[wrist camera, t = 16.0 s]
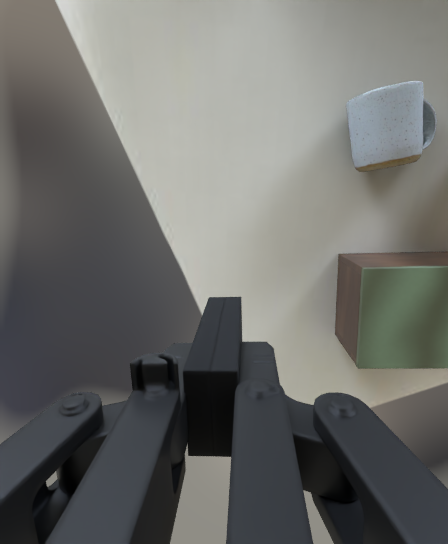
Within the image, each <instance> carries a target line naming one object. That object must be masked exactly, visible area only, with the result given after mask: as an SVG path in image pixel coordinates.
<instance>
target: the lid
mask: <svg viewBox="0 0 448 544" xmlns="http://www.w3.org/2000/svg"><path fill="white" fill-rule="evenodd" d="M356 366H357V368H448V266H403V267H362V269H361V286H360V303H359V320H358V337H357V354H356Z"/></svg>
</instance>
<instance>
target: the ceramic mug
mask: <svg viewBox="0 0 448 544" xmlns="http://www.w3.org/2000/svg"><path fill="white" fill-rule="evenodd" d="M346 107H347V116H348V124H349V133H350V140H351V150H352V158H353V162H354V165H355V168H356V170H358V171H359V172H365V171H371V170H377V169H383V168H388V167H394V166H399V165H403V164H408V163H412V162H416V161H417V160H418V159H419V158H420V156H421V153H422V150H423V149H425V148H426V147H428V146H429V145H430V143H431V142H432V140H433V138H434V135H435V131H436V114H435V110H434V108H433V106H432V105H431V104H430V103H429V102H428V101H427V100H425V99H423V82H421V81H409V82H403V83H398V84H394V85H390V86H386V87H382V88H378V89H375V90H372V91H369V92H367V93H364V94H361V95H359V96H357V97H355V98H353V99H351V100H350V101H348V102H347V104H346Z"/></svg>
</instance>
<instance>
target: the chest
mask: <svg viewBox="0 0 448 544" xmlns="http://www.w3.org/2000/svg"><path fill="white" fill-rule="evenodd" d="M403 266H448V251H446V252H401V253H357V254H339V256H338V279H337V302H336V325H335V335H336V336H337V338H338V339H339V341H340V342H341V344H342V345H343V347H344V348H345V350H346V351H347V353H348V354H349V355H350V357H351V358H352V360H353V361H354V363H355V364H356V354H357V337H358V320H359V303H360V286H361V269H362V267H403Z"/></svg>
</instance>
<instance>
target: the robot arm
mask: <svg viewBox="0 0 448 544" xmlns="http://www.w3.org/2000/svg"><path fill="white" fill-rule="evenodd" d="M130 368H131V378H132V388H133V391H132V393H131V395H130V396H129V398H128V400H127V401H123V402H119V403H114V404H109V405H104V406H102V401H101V398H100V397H99V395H97V394H95V393H92V392H78V393H73V394H71V395H68V396H66V397H63V398H61V399H60V400H58V401H56V402H55V403H53V404H52V405H51V406H49V407H48V408H47V409H46V410H44V411H43V412H42V413H40V414H39V415H38V416H36V417H35V418H34V419H33V420H31V421H30V422H29V423H28V424H26V425H25V426H24V427H22V428H21V429H20V430H18V431H17V432H16V433H14V434H13V435H12V436H10V437H9V438H8V439H7V440H5V441H4V442H3V443H1V444H0V544H170V540H171V536H172V531H173V526H174V522H175V517H176V512H177V508H178V503H179V498H180V494H181V489H182V484H183V480H184V475H185V451H186V446H187V442H188V455H189V456H223V457H231V473H230V489H229V506H228V507H229V508H228V524H227V540H226V544H313V541H312V535H311V530H310V524H309V519H308V514H307V509H306V503H305V498H304V493H303V490H305V491H308V492H311V494H312V498H313V501H314V503H315V506H316V507H317V509H318V512H319V514H320V516H321V518H322V520H323V522H324V524H325V526H326V528H327V530H328V532H329V534H330V536H331V538H332V541H333V543H334V544H448V489H447V488H446V487H445V486H444V485H443V484H442V483H441V481H440V480H439V479H437V477H436V476H435V475H434V474H433V473H432V472H431V471H430V470H429V469H428V468H427V467H426V466H425V465H424V464H423V463H422V462H421V461H420V460H419V459H418V458H417V457H416V456H415V455H414V454H413V453H412V452H411V451H410V449H408V447H407V446H406V445H405V444H404V443H403V442H402V441H401V440H400V439H399V438H398V437H397V436H396V435H395V434H394V433H393V432H392V431H391V430H390V429H389V428H388V427H387V426H386V425H385V424H384V423H383V421H382V420H380V418H379V417H378V416H376V414H375V413H374V412H373V411H372V410H371V409H370V408H369V407H368V406H367V405H366V404H365V403H363V402H362V401H361V400H359V399H358V398H355V397H353V396H351V395H348V394H344V393H326V394H323V395H320V396H319V397H318V398H316V399H315V402H314V405H310V404H305V403H302V402H298V401H295V400H293V399H291V398H289V397H288V396H287V395H285V393H284V390H283V388H282V386H281V385H280V383H279V377H278V372H277V366H276V360H275V355H274V349H273V347H272V346H271V345H269V344H268V343H267V342H242V315H241V297H209V299H208V302H207V305H206V307H205V310H204V313H203V316H202V318H201V321H200V324H199V327H198V330H197V332H196V335H195V338H194V341H193V343H174V344H172V345H171V346H169V347H168V348H167V349H166V350H165V352H164V353H162V352H158V353H150V354H146V355H142V356H140V357H138V358H136V359H134V360H133V361H132V362H131V363H130ZM55 471H56V472H57V478H58V479H57V480H56V481H55V482H54V483H53V484H52V485H51V486H49V487H47V486H46V480H47V479H48V478H49V477H50V476H51V475H52V474H53V473H54V472H55Z"/></svg>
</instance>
